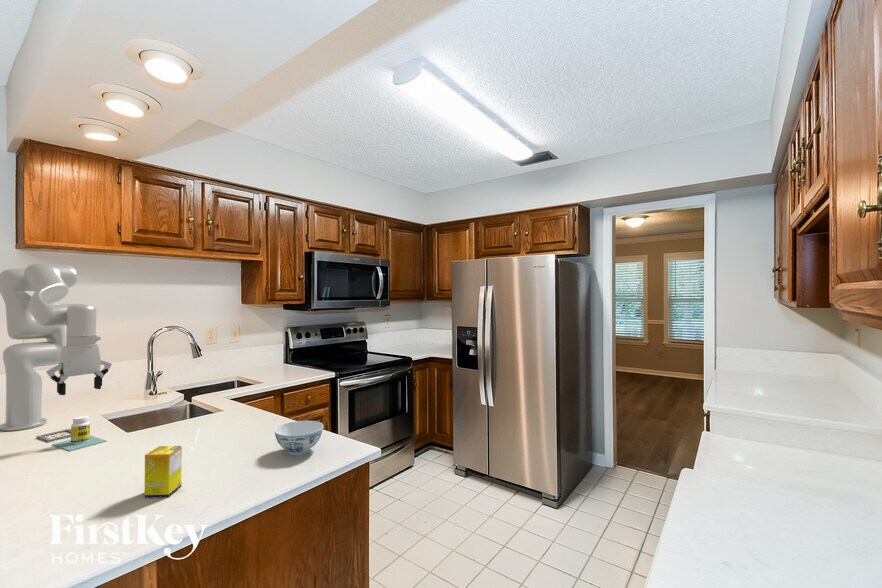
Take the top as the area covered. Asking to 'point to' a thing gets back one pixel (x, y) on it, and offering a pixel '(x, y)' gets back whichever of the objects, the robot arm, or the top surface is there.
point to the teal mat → (71, 447)
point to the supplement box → (163, 471)
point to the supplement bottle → (80, 430)
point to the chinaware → (298, 436)
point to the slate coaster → (54, 436)
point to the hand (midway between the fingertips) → (80, 391)
